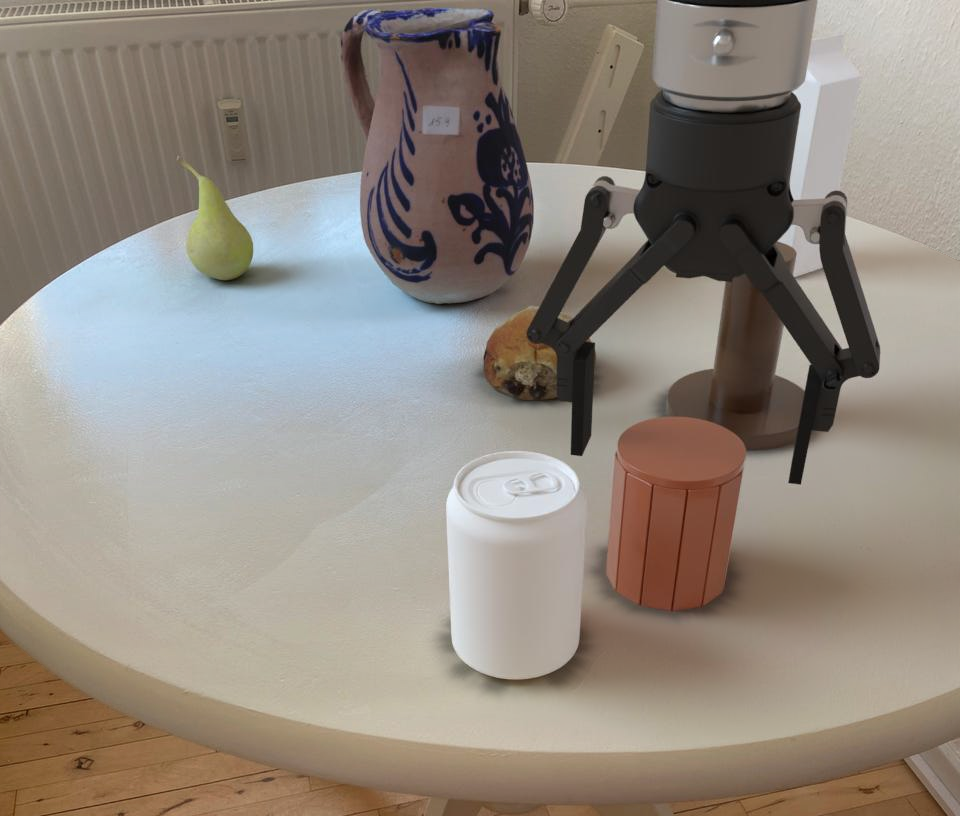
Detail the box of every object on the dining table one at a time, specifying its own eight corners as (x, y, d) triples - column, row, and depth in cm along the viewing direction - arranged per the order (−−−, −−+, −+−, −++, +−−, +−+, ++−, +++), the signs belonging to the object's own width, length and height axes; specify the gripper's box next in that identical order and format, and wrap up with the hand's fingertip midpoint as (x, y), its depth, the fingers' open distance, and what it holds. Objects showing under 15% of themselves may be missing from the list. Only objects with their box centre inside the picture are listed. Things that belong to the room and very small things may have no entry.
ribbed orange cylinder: (731, 551, 75) (753, 425, 68) (716, 620, 69) (738, 489, 63) (619, 533, 77) (630, 409, 70) (596, 599, 71) (605, 470, 64)
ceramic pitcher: (480, 336, 102) (475, 46, 86) (305, 296, 111) (271, 23, 94) (561, 275, 114) (570, 8, 98) (397, 242, 122) (380, -9, 106)
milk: (824, 268, 114) (872, 38, 100) (785, 281, 112) (829, 47, 97) (781, 251, 118) (822, 27, 104) (743, 264, 116) (779, 36, 101)
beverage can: (436, 619, 70) (428, 460, 62) (551, 594, 71) (557, 436, 64) (474, 699, 64) (470, 534, 56) (598, 670, 66) (611, 506, 58)
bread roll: (601, 419, 97) (631, 333, 94) (533, 412, 89) (564, 317, 86) (522, 385, 102) (548, 302, 99) (452, 375, 94) (477, 284, 92)
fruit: (228, 295, 111) (207, 175, 103) (175, 281, 114) (151, 164, 106) (269, 274, 115) (252, 157, 108) (218, 261, 118) (198, 147, 111)
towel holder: (814, 392, 93) (847, 231, 84) (804, 460, 84) (840, 288, 75) (677, 375, 96) (696, 217, 87) (654, 440, 87) (672, 272, 78)
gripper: (467, 99, 54) (480, 463, 67) (996, 124, 48) (891, 518, 61) (508, 64, 59) (512, 407, 73) (988, 82, 53) (893, 453, 67)
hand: (685, 459), depth 67 cm, fingers open, 13 cm apart
